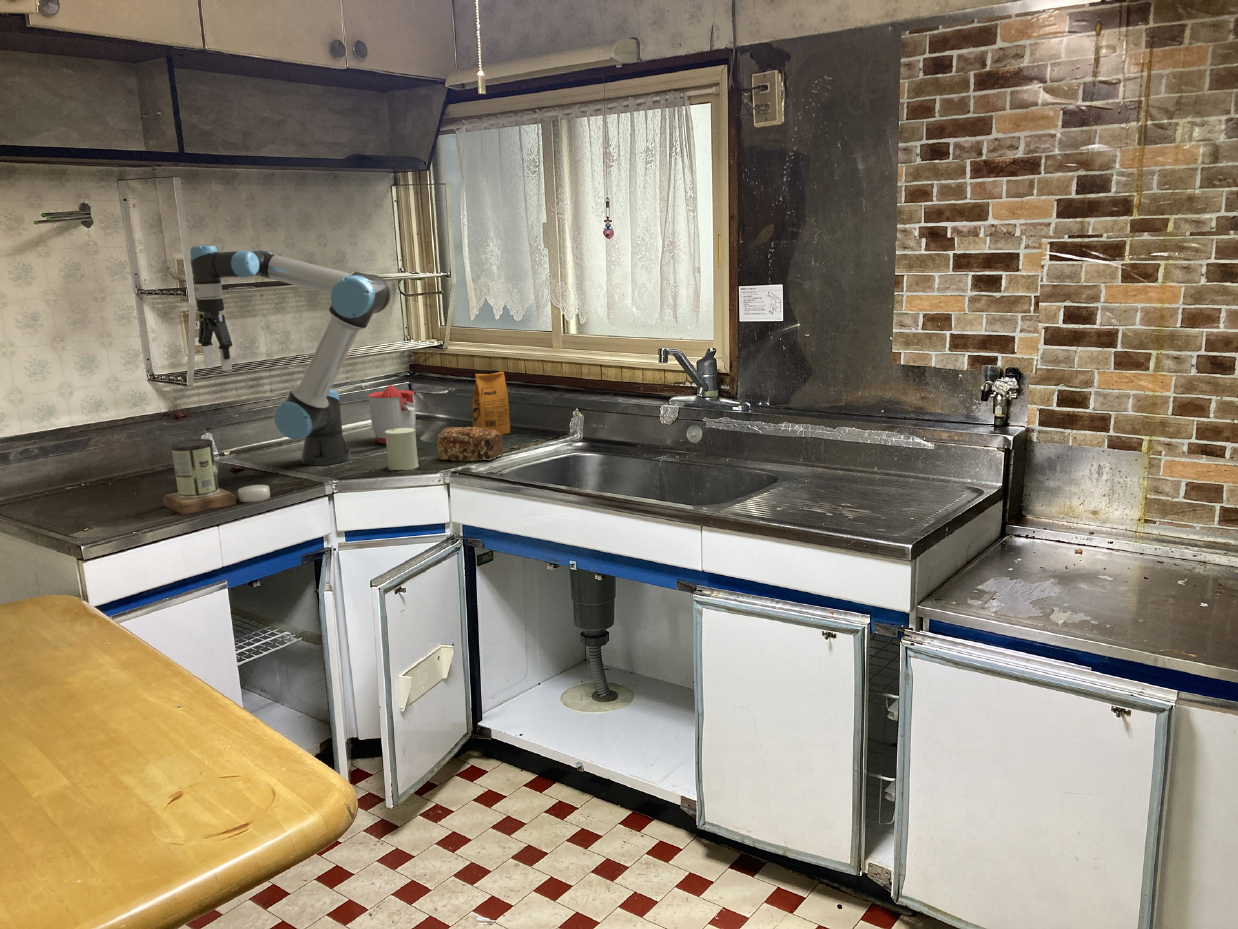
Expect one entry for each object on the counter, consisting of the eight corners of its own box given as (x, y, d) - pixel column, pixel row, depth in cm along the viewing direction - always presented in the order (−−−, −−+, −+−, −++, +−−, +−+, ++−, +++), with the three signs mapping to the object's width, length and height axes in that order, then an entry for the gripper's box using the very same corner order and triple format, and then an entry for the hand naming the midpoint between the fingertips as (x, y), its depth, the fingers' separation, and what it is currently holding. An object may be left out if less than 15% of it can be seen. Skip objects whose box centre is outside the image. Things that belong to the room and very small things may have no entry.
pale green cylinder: (402, 463, 304) (399, 425, 301) (424, 465, 299) (421, 427, 297) (381, 469, 296) (378, 430, 294) (404, 471, 292) (400, 432, 289)
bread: (437, 461, 305) (434, 430, 303) (451, 454, 315) (449, 423, 313) (492, 462, 300) (490, 431, 298) (505, 455, 311) (503, 424, 308)
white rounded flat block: (263, 493, 272) (262, 483, 271) (275, 498, 266) (273, 488, 265) (234, 499, 267) (233, 488, 266) (246, 504, 261) (244, 493, 260)
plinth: (216, 495, 271) (214, 485, 270) (236, 503, 261) (234, 493, 260) (164, 505, 262) (162, 494, 261) (182, 514, 252) (180, 503, 251)
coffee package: (471, 433, 348) (467, 372, 343) (504, 430, 353) (500, 369, 348) (479, 438, 339) (474, 375, 334) (512, 434, 344) (509, 372, 339)
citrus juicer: (399, 447, 327) (394, 389, 323) (362, 444, 336) (357, 386, 332) (431, 439, 340) (426, 382, 336) (395, 435, 349) (390, 380, 345)
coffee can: (193, 488, 267) (186, 438, 263) (227, 489, 265) (220, 438, 261) (169, 498, 257) (161, 446, 254) (204, 499, 255) (196, 446, 252)
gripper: (181, 298, 298) (191, 367, 302) (212, 299, 280) (221, 372, 284) (206, 296, 303) (215, 364, 307) (238, 298, 285) (247, 370, 289)
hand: (218, 368), depth 296 cm, fingers open, 13 cm apart
